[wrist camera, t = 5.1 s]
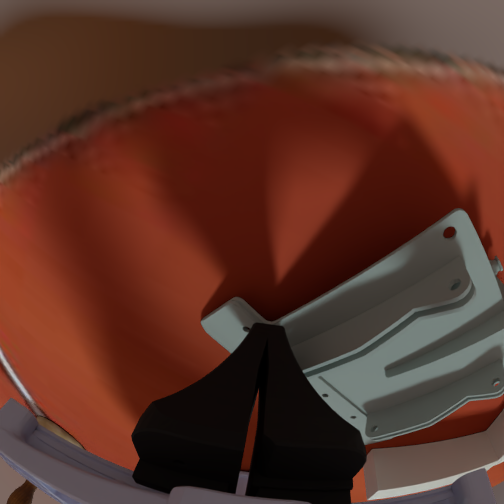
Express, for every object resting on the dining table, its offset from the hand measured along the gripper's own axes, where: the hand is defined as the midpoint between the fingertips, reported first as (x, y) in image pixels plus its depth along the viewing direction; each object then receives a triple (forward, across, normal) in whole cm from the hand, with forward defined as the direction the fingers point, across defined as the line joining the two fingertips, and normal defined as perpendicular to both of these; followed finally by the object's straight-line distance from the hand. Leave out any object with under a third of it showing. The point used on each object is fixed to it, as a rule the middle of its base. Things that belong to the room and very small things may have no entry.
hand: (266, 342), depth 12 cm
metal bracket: (+2, -6, +1) cm, 7 cm away
